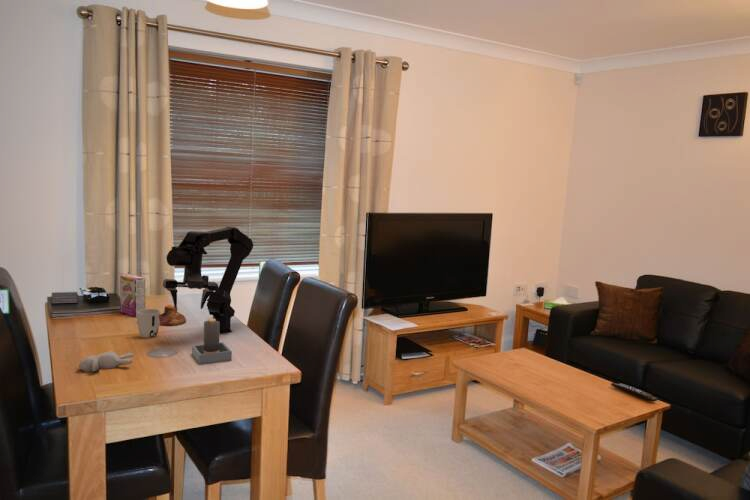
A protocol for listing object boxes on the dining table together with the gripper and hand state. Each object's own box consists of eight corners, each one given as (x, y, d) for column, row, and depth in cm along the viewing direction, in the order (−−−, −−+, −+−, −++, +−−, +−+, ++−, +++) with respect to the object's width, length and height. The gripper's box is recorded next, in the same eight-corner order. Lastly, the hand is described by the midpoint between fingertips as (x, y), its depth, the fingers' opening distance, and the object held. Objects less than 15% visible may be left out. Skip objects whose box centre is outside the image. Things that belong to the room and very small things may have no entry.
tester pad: (174, 349, 198) (174, 346, 198) (180, 358, 190) (180, 355, 190) (144, 352, 193) (144, 350, 193) (148, 362, 185) (148, 359, 184)
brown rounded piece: (151, 321, 232) (151, 303, 231) (180, 317, 239) (181, 301, 238) (160, 328, 223) (160, 310, 222) (190, 324, 230) (190, 307, 229)
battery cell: (211, 353, 193) (212, 316, 191) (222, 356, 191) (223, 319, 189) (200, 357, 189) (200, 319, 187) (211, 360, 186) (211, 322, 185)
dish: (222, 353, 197) (223, 342, 197) (231, 363, 188) (231, 351, 188) (191, 356, 192) (191, 345, 191) (198, 367, 183) (199, 355, 182)
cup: (152, 342, 205) (152, 315, 204) (132, 339, 207) (131, 313, 205) (164, 336, 213) (164, 310, 211) (145, 333, 214) (145, 307, 213)
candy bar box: (119, 312, 241) (119, 275, 238) (129, 310, 245) (129, 273, 243) (135, 317, 235) (135, 279, 233) (146, 315, 239) (146, 277, 237)
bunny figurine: (82, 352, 179) (133, 345, 183) (84, 368, 180) (135, 360, 184) (75, 362, 170) (129, 355, 174) (78, 378, 171) (131, 370, 175)
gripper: (170, 266, 195) (165, 311, 195) (224, 270, 204) (219, 313, 204) (164, 263, 204) (160, 306, 205) (216, 267, 213) (212, 308, 214)
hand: (188, 308), depth 207 cm, fingers open, 9 cm apart
